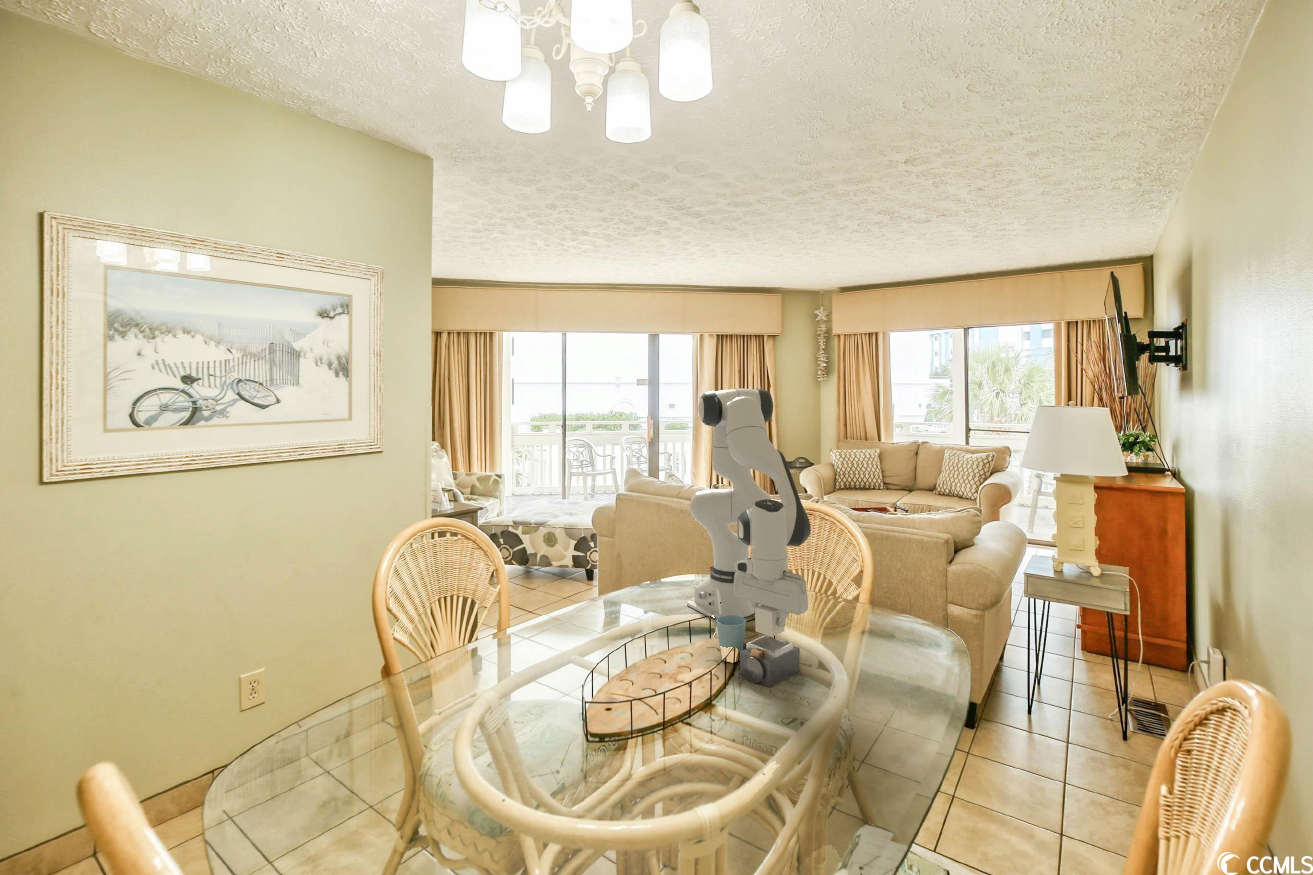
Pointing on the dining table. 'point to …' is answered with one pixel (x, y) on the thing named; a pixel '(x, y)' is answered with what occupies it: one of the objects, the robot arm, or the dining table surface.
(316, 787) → the dining table surface
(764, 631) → the pump block
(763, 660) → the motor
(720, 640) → the cup
